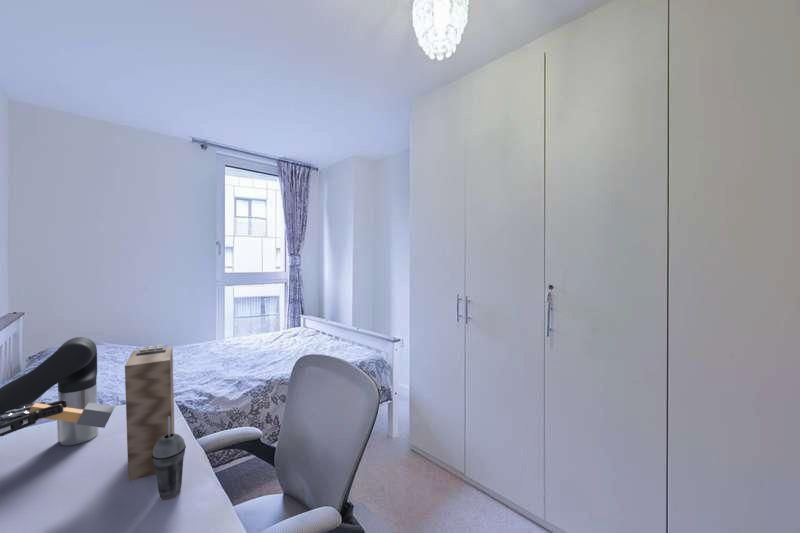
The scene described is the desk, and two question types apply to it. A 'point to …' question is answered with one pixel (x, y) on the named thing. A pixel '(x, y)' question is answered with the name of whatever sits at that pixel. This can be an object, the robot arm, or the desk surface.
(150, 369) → the brown wooden tall block
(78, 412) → the mallet
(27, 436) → the desk surface
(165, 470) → the beverage cup
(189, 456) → the desk surface
